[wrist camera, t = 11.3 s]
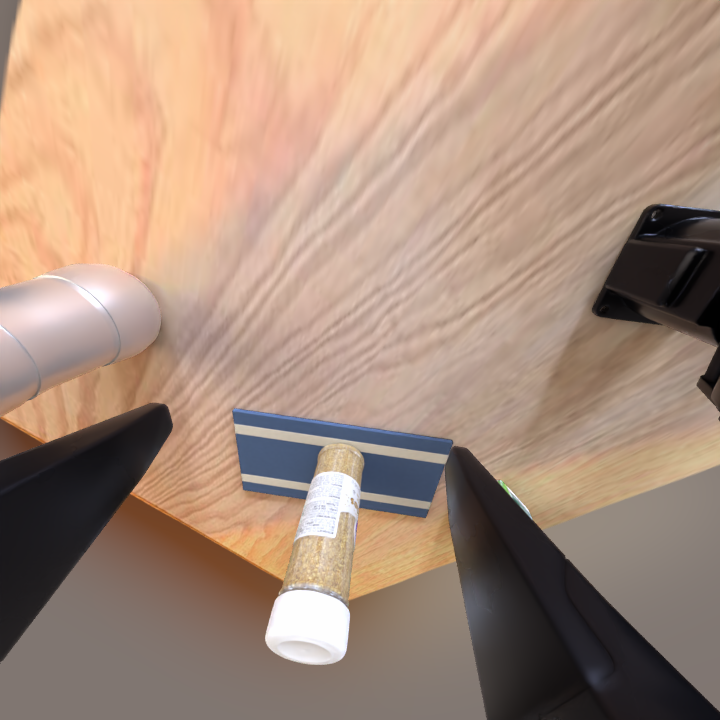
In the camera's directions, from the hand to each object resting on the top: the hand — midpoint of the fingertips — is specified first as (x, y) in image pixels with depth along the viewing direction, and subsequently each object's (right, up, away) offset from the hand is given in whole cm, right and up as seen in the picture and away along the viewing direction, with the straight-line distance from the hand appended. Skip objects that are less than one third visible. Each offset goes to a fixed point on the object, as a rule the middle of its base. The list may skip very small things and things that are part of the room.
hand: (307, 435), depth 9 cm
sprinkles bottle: (0, -7, +18) cm, 20 cm away
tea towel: (-1, -8, +19) cm, 21 cm away
